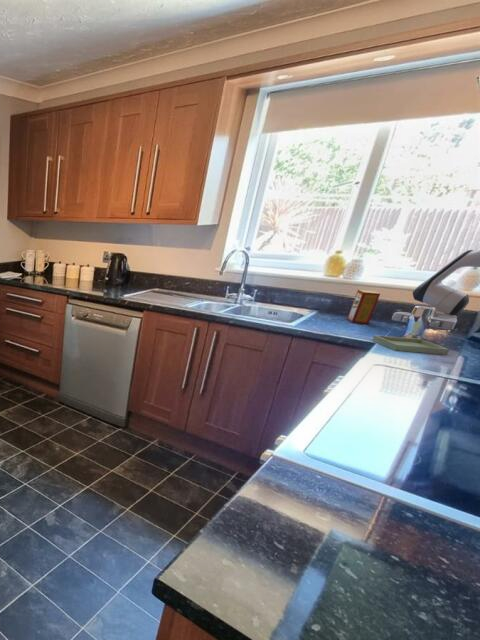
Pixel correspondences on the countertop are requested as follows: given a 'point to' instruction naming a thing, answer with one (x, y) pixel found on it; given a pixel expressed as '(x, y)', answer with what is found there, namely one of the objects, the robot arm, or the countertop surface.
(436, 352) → the tray
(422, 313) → the beer glass
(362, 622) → the countertop surface
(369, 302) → the baking soda box
